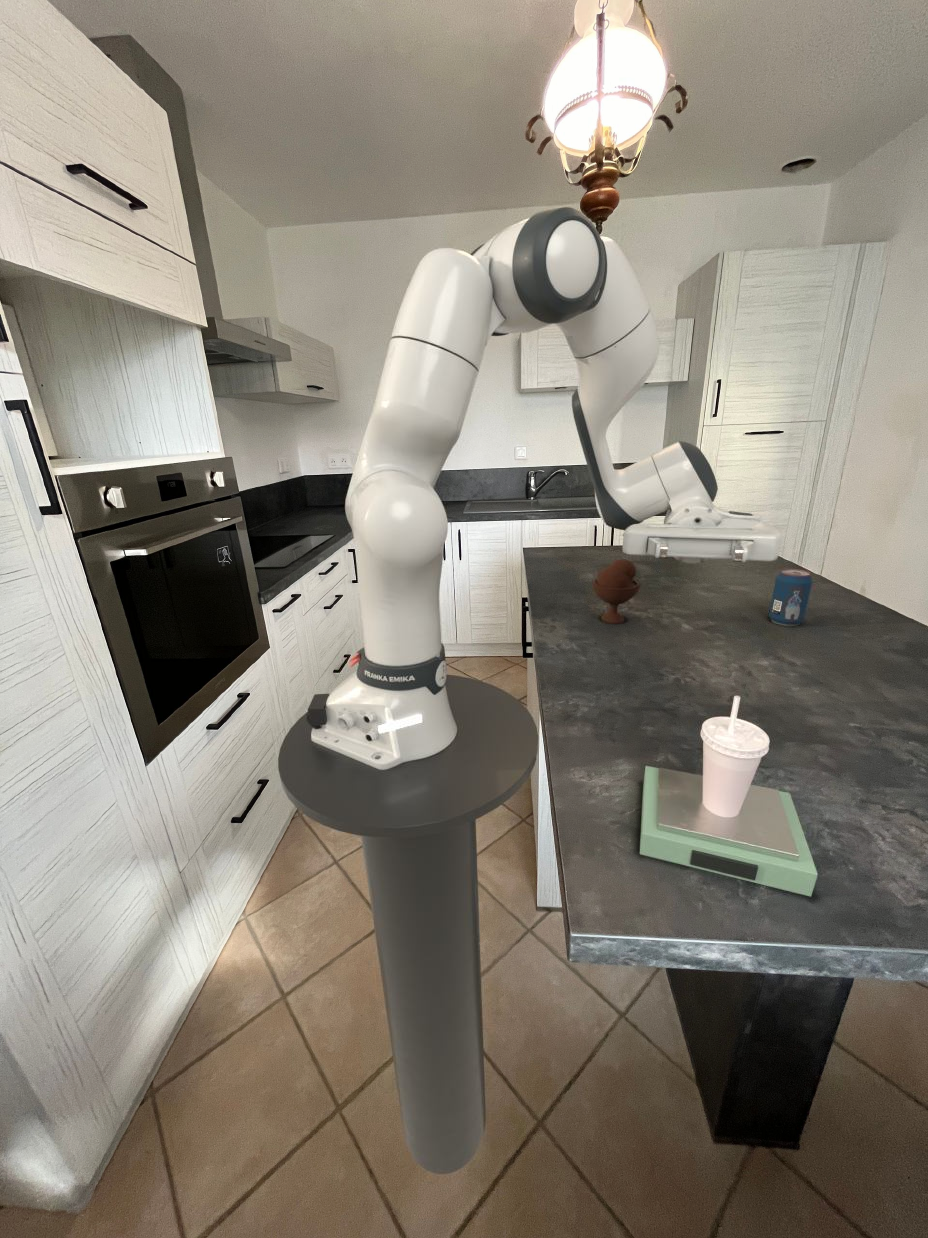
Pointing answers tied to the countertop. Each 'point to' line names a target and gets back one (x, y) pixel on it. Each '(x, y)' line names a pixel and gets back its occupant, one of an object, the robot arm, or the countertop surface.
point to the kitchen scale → (727, 849)
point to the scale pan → (750, 829)
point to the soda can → (790, 597)
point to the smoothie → (730, 761)
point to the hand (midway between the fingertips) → (700, 554)
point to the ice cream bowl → (616, 587)
